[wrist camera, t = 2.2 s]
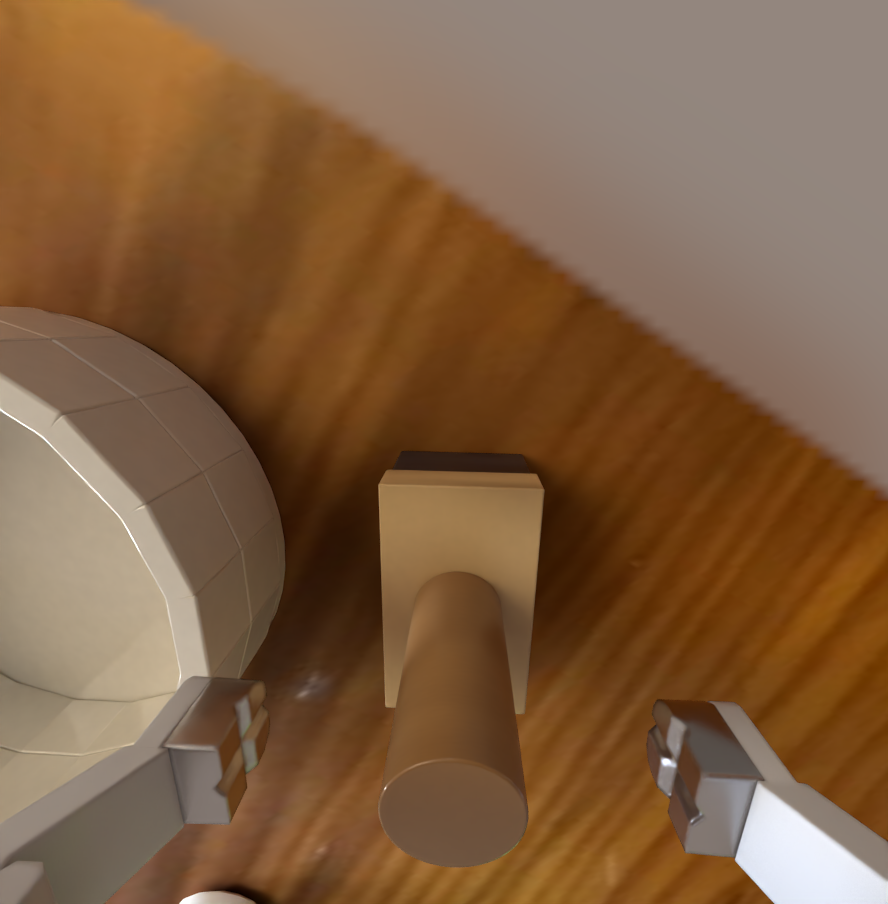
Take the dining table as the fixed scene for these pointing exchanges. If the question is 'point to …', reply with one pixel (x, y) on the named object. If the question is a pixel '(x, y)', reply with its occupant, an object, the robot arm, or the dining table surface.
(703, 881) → the dining table surface
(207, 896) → the lidless jar
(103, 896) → the robot arm
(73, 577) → the bowl
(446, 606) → the brush
